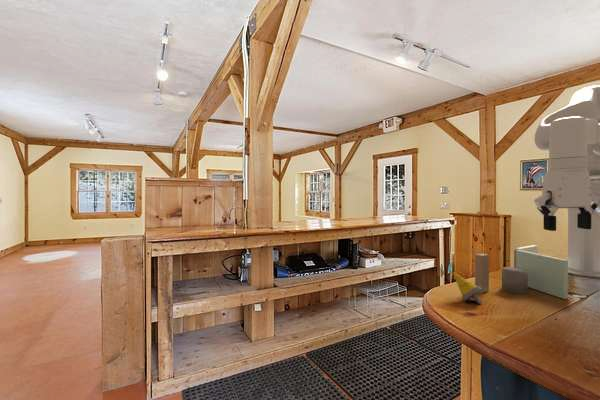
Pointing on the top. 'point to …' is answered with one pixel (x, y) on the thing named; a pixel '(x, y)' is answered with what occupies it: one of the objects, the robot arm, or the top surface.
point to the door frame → (483, 267)
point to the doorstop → (515, 280)
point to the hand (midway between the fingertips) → (567, 229)
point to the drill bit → (467, 288)
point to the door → (544, 272)
